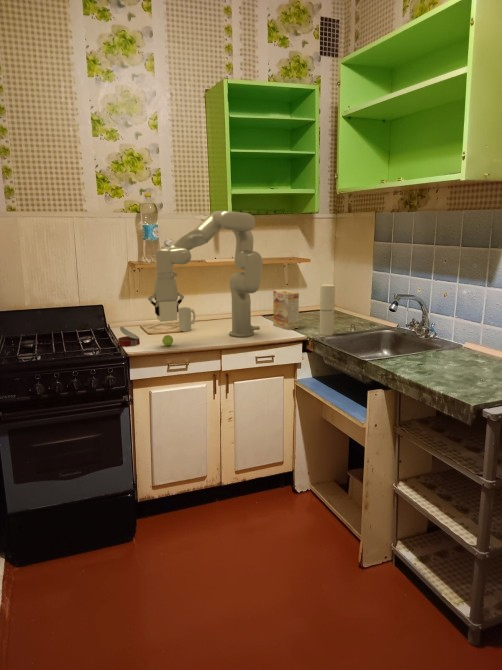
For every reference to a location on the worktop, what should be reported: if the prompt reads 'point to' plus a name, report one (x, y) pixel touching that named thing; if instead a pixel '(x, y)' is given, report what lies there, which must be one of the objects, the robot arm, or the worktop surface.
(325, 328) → the cylindrical container
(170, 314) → the grey piece
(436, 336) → the worktop surface
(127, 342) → the canned food
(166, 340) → the ball
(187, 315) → the mug
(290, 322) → the coffeecake box
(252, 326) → the robot arm
